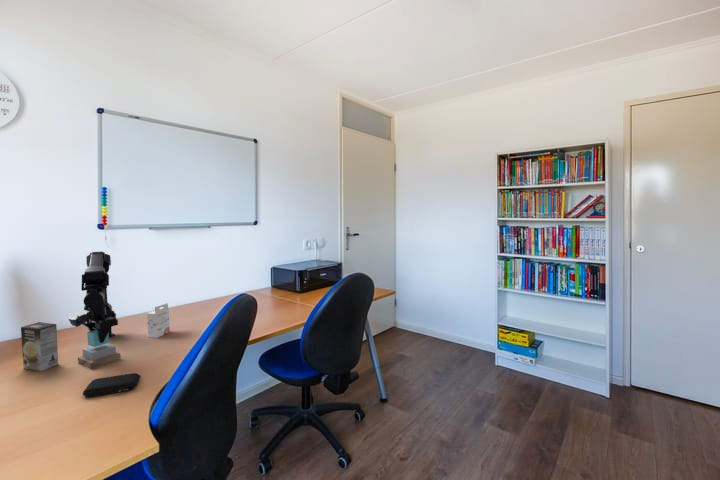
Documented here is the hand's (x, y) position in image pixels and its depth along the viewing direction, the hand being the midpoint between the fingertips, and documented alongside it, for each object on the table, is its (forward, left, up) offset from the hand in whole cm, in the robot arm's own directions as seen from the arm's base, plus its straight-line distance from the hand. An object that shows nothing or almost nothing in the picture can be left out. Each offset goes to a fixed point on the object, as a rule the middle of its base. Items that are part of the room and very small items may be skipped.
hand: (98, 341), depth 134 cm
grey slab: (0, 0, -6) cm, 6 cm away
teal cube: (0, 0, -1) cm, 1 cm away
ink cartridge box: (-9, +29, -8) cm, 31 cm away
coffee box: (-14, -13, -8) cm, 21 cm away
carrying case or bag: (+28, -9, -9) cm, 31 cm away
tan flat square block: (0, 0, -9) cm, 9 cm away
